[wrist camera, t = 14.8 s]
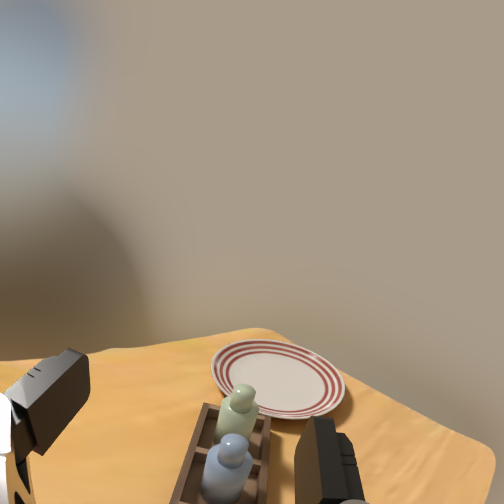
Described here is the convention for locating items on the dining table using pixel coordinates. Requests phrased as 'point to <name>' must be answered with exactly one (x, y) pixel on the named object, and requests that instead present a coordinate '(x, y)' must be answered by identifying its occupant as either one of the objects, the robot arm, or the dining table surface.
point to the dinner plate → (280, 377)
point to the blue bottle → (226, 470)
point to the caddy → (189, 481)
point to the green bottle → (237, 413)
